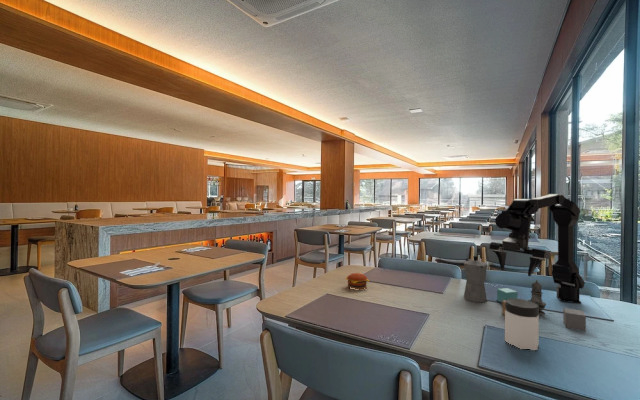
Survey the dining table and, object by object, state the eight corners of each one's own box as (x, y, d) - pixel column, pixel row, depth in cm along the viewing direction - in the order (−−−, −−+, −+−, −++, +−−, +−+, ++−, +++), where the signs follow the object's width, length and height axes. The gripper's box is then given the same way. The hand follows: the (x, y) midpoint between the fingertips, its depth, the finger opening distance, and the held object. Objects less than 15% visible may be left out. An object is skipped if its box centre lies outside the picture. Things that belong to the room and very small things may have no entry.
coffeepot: (494, 304, 120) (494, 259, 120) (470, 304, 120) (470, 259, 120) (477, 292, 135) (477, 252, 135) (455, 291, 136) (455, 252, 136)
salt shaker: (549, 315, 108) (549, 282, 108) (531, 314, 110) (531, 281, 110) (541, 309, 114) (541, 278, 114) (523, 308, 115) (524, 277, 115)
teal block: (508, 300, 125) (508, 288, 125) (517, 304, 120) (517, 291, 120) (497, 300, 125) (497, 288, 124) (506, 304, 120) (506, 292, 120)
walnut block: (516, 314, 110) (516, 300, 110) (524, 320, 105) (524, 305, 105) (502, 313, 111) (502, 300, 111) (509, 319, 106) (509, 305, 106)
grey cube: (582, 325, 100) (582, 310, 100) (585, 331, 96) (585, 315, 96) (563, 322, 103) (563, 307, 103) (565, 327, 99) (565, 312, 99)
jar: (507, 334, 94) (508, 296, 94) (539, 342, 89) (540, 301, 89) (502, 344, 88) (502, 304, 87) (537, 354, 82) (537, 310, 82)
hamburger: (343, 286, 145) (343, 272, 145) (360, 283, 149) (360, 270, 149) (354, 291, 136) (354, 277, 136) (371, 289, 141) (371, 274, 141)
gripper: (484, 226, 117) (479, 266, 116) (540, 233, 101) (534, 279, 101) (498, 229, 123) (493, 267, 122) (553, 236, 107) (547, 279, 107)
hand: (515, 273), depth 113 cm, fingers open, 9 cm apart
